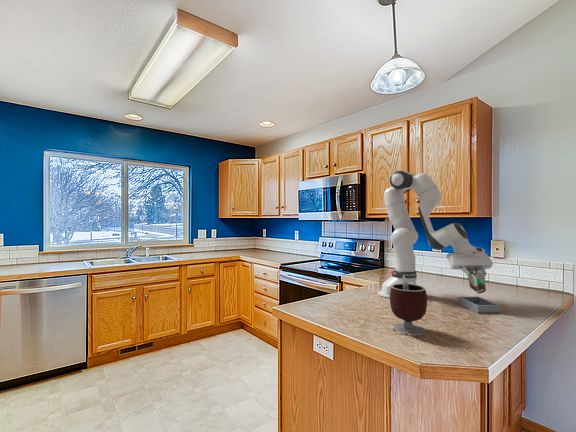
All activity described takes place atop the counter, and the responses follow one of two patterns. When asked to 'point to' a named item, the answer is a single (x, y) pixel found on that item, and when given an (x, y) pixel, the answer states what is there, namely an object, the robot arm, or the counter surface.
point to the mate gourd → (408, 306)
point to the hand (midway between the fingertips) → (476, 274)
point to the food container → (477, 280)
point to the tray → (479, 305)
